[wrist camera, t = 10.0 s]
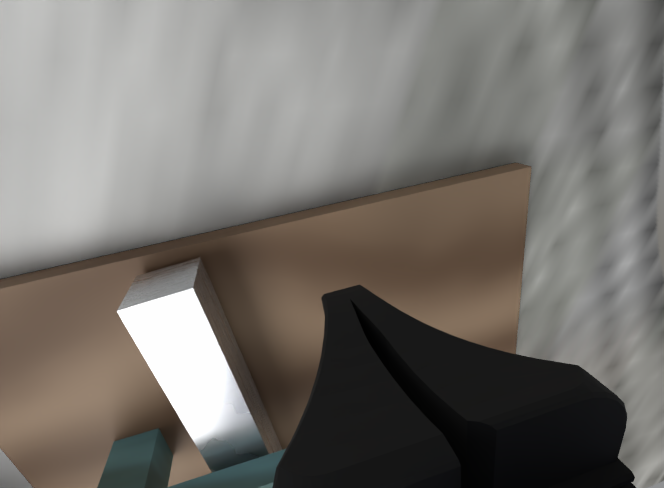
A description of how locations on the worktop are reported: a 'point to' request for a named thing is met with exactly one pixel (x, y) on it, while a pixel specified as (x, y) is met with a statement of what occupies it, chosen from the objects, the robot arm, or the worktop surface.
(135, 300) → the link
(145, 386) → the board
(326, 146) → the worktop surface
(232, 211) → the worktop surface
